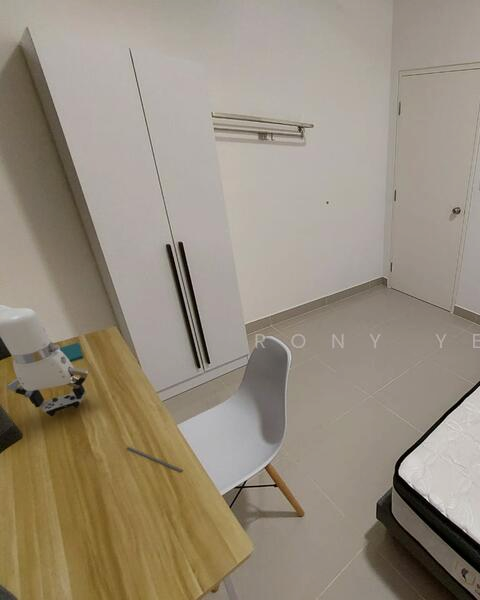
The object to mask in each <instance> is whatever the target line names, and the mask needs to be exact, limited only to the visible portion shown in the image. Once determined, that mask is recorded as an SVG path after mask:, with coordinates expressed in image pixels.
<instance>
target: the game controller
mask: <svg viewBox="0 0 480 600" xmlns="http://www.w3.org/2000/svg"><path fill="white" fill-rule="evenodd" d="M86 396H87V392H86V391H85V393H84V394H83V396H82V398H81V399H77V398H76V396H75V394H74V392H73V391H72V392H70V393H68V394H64V395H61V396H59V397H54V398H51V399H47V400H44V401H43V403H42V404H41V406H40V408H41V410H42V411H43V413H45V414H46V415H48V416H49V417H54V416H55V415H56V413H57V412H59V411H63V410H66V409H69V408H72V407H73V408H75V409H78V408H79V407H80V405H81V404H82V401H83V399H84V398H85V397H86Z"/></svg>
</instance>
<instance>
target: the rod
mask: <svg viewBox="0 0 480 600" xmlns="http://www.w3.org/2000/svg"><path fill="white" fill-rule="evenodd" d="M126 450H128V451H129V452H132V453H134V454H137V455H139V456H141V457H143V458H146V459H148V460H151V461H152V462H155V463H158V464H159V465H162V466H165V467H167V468H168V469H172V470H174V471H176V472H178V473H180V474H181V473H183V471H184V470H183V469H181V468H179V467H177V466H175V465H172V464H170V463H168V462H165V461H163V460H161V459H158V458H156V457H154V456H151V455H149V454H147V453H145V452H142V451H140V450H137V449H135V448H133V447H130V446H127V447H126Z"/></svg>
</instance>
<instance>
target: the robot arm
mask: <svg viewBox="0 0 480 600" xmlns="http://www.w3.org/2000/svg"><path fill="white" fill-rule="evenodd" d="M0 339H1V340H2V342H3V344H4V346H5V347H6V348H7V351H8V352H9V354H10V355H11V357H12V358H13V360H12V365H13V370H14V373H15V376H16V379H14V380H13V381H11V382H10V383H9V384H7V386H6V389H8V390H10V391H12V392H15V393H16V394H18V395H21V396H24V398H28V399H29V401H30V403H31V404H32V405H34V407H35V408H41V404H42V403H43V402H45V398H44V397H43V395H42V393H41V392H40V390H44V389H50V388H56V387H60V386H69V387H71V388H72V393H73V392H74V394H75V396H76V398H77V399H81V398H82V396H83V394H84V393H85V392H86V389H85V388H84V386H83V383H85V381H86V379H87V378H88V375H89V372H90V371H89V370H87V369H82V368H77V367H75V366H74V365H73V363H72V362H70V361H69V359H68V358H67V357H66V356H65V354H64V353H63V352H62V351H61V350H59V349H60V348H61V345H60V344H54V343H53V341H51V339H50V337H49V334H48V333H47V331H46V329H45V327H44V326H43V324H42V321H41V320H40V318H39V316H38V314H37V312H36V311H35V310H33V309H31V308H29V307H17V308H16V307H12V306H8V305H4V304H0ZM77 376H80V377H77Z"/></svg>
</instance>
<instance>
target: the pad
mask: <svg viewBox="0 0 480 600" xmlns="http://www.w3.org/2000/svg"><path fill="white" fill-rule="evenodd" d="M59 350H61V351H62V352H63V353H64V354H65V356H66V357H67V358H68V359H69V361H70V362H71V363H72V362H75V361H78V360H81V359H84V355H83V352H82V349H81V345H80V343H79V342H75V343H72V344H68V345H65V346H60V349H59Z"/></svg>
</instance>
